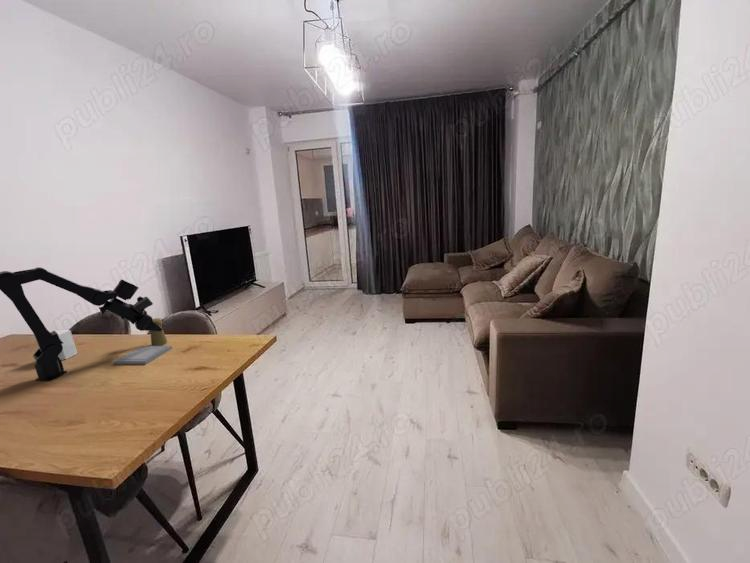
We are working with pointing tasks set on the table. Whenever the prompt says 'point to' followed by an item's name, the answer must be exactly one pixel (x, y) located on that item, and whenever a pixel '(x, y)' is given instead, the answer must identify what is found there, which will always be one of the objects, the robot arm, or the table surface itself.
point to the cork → (158, 334)
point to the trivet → (142, 355)
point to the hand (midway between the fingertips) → (159, 327)
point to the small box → (66, 344)
